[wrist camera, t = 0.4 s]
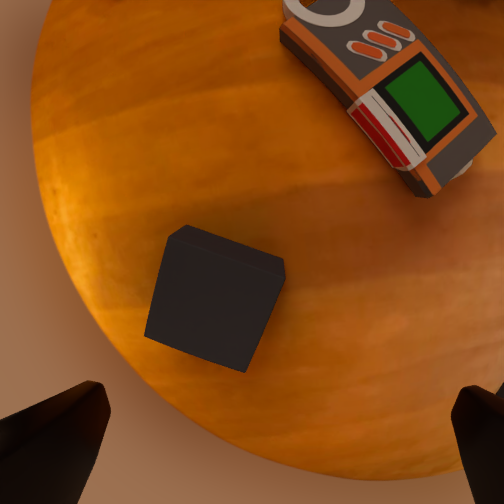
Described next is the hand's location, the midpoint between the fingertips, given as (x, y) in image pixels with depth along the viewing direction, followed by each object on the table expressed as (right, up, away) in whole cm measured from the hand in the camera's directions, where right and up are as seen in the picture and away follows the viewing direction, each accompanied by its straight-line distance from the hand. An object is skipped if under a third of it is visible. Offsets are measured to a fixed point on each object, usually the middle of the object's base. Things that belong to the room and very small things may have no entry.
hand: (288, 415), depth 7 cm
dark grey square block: (-3, +2, +13) cm, 14 cm away
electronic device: (+7, +15, +10) cm, 19 cm away
